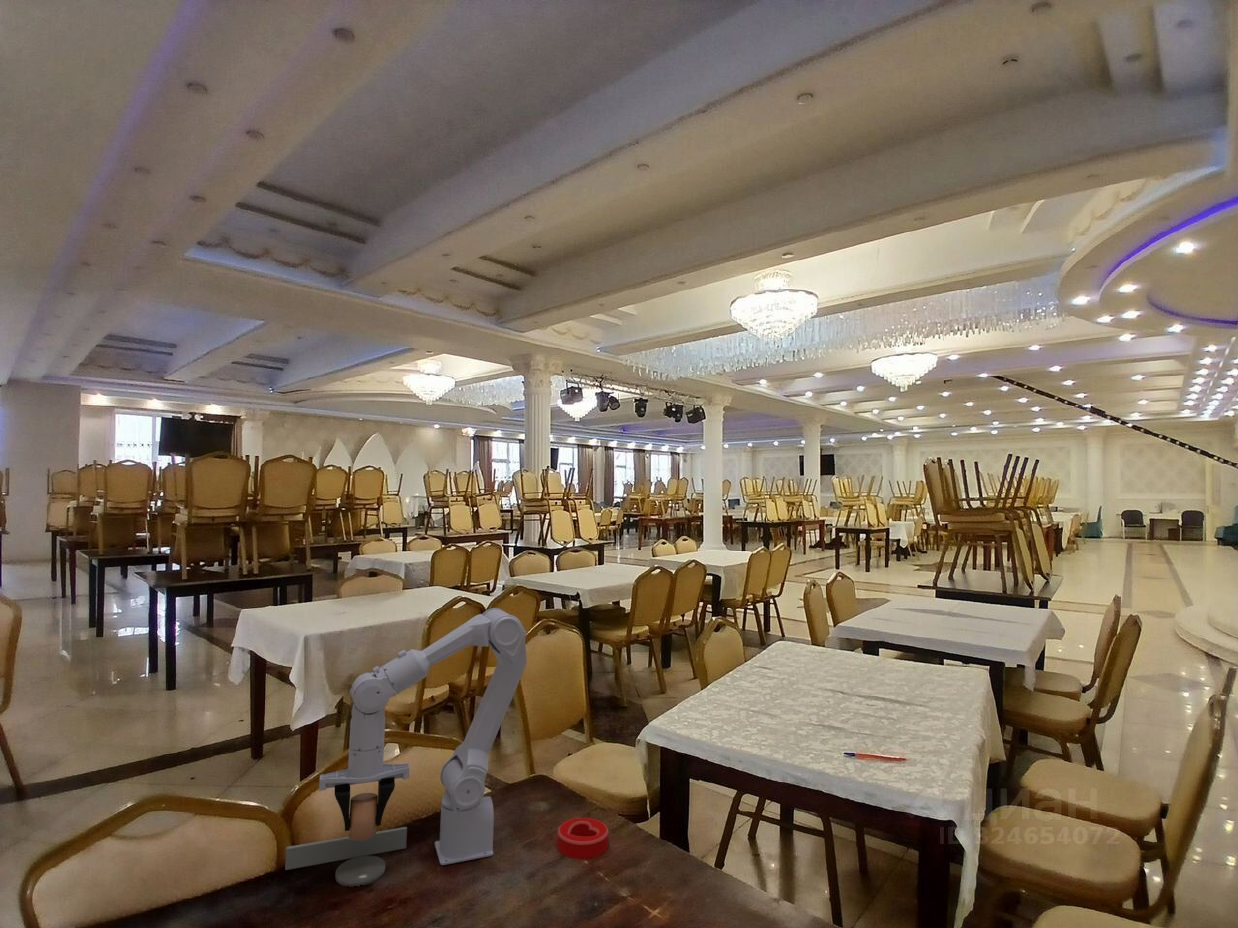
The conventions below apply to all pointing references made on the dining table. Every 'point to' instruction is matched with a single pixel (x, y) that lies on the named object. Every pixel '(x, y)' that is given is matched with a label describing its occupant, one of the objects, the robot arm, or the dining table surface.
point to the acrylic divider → (344, 848)
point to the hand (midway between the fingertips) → (362, 825)
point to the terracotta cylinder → (363, 816)
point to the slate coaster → (360, 871)
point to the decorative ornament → (582, 838)
